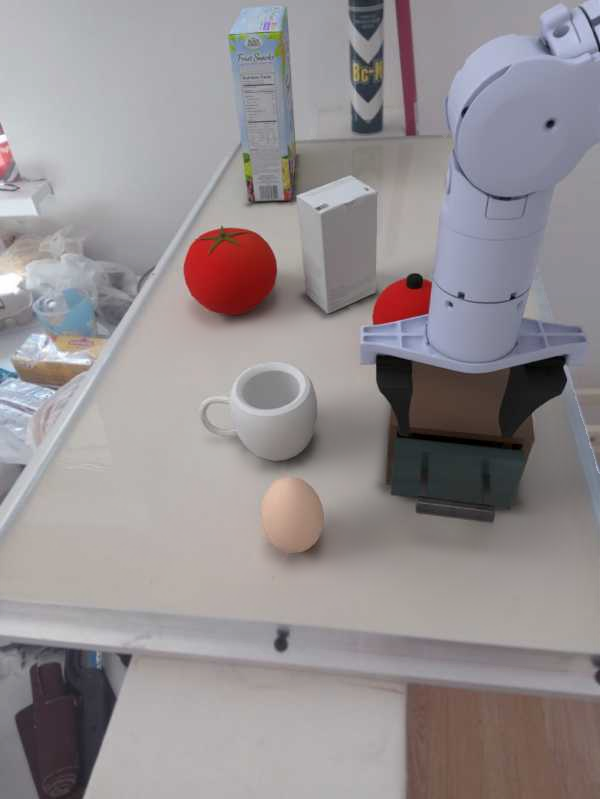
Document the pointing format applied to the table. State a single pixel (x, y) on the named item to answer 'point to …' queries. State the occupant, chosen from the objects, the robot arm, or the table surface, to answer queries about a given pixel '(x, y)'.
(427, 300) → the ornament
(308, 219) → the cosmetic box
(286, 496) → the egg
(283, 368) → the mug
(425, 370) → the cabinet
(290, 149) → the snack box
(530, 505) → the table surface
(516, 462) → the drawer
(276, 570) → the table surface
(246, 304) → the tomato
